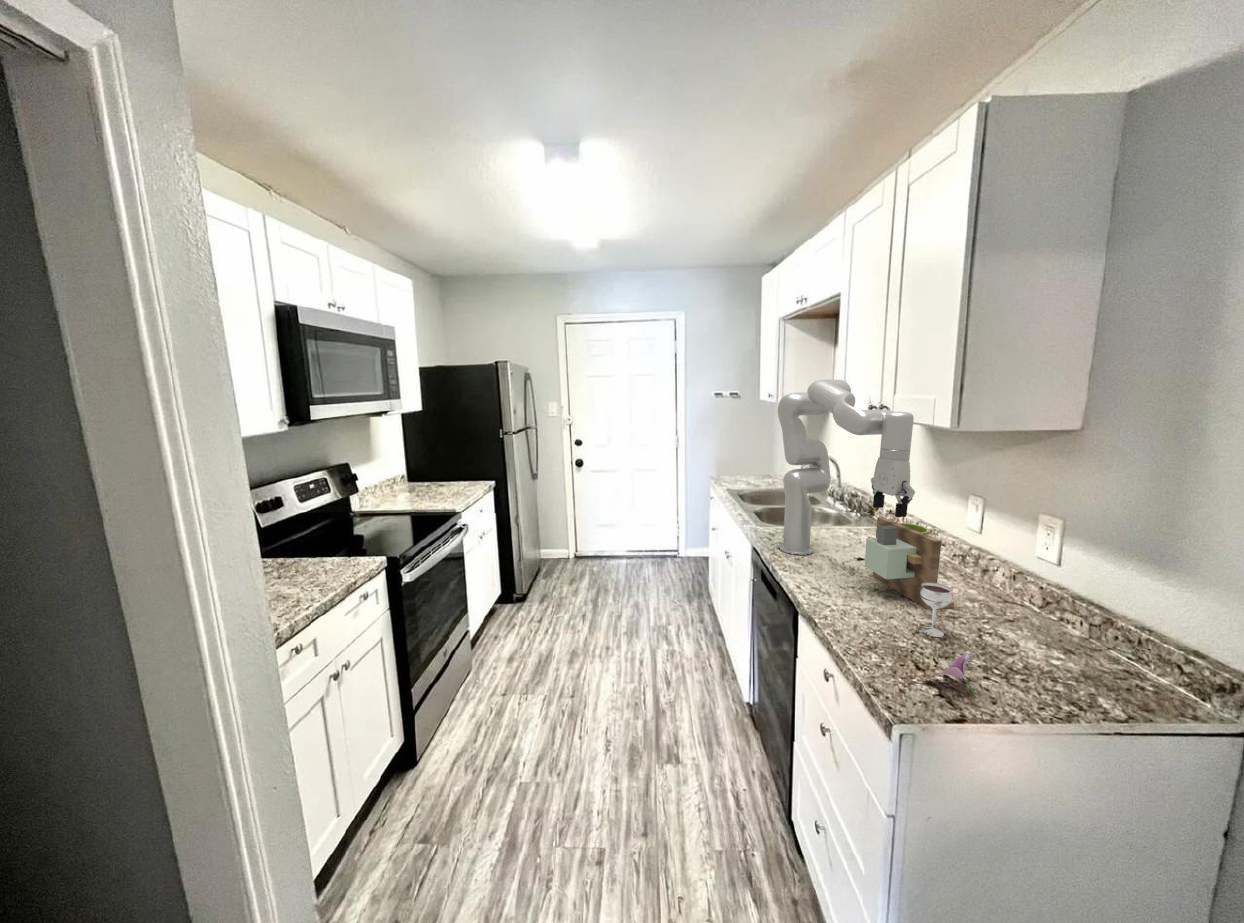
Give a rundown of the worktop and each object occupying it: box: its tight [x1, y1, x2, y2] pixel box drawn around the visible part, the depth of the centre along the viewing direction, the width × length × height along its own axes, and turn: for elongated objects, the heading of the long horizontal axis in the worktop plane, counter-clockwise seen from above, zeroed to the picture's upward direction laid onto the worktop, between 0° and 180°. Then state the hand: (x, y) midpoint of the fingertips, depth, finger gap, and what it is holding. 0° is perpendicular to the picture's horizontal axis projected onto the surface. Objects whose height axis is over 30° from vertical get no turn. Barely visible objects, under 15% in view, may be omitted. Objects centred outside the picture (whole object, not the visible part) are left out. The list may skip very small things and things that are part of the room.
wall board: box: [872, 516, 955, 610], centre depth 142 cm, size 24×10×20 cm, turn 7°
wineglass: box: [920, 582, 953, 638], centre depth 118 cm, size 7×7×12 cm
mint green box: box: [864, 525, 917, 579], centre depth 139 cm, size 10×9×14 cm
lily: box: [924, 649, 982, 699], centre depth 96 cm, size 12×12×10 cm
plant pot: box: [897, 522, 929, 535], centre depth 170 cm, size 12×12×11 cm
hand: (888, 512), depth 138 cm, fingers open, 9 cm apart
